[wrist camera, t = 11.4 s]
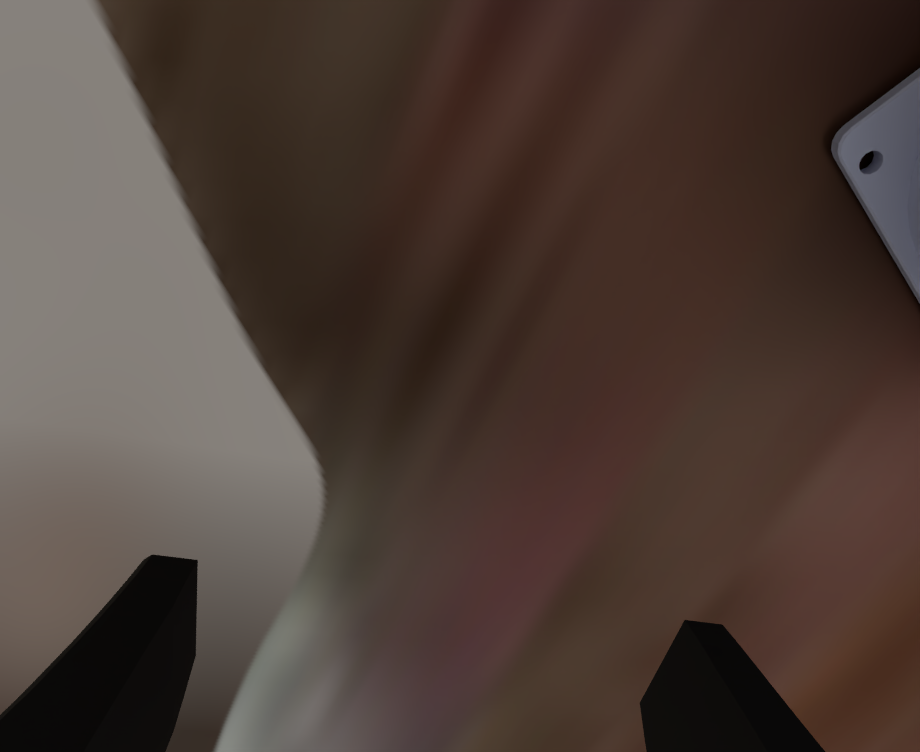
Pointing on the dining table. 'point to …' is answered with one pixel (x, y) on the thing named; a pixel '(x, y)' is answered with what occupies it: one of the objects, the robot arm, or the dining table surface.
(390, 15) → the dining table surface
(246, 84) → the dining table surface
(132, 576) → the robot arm
